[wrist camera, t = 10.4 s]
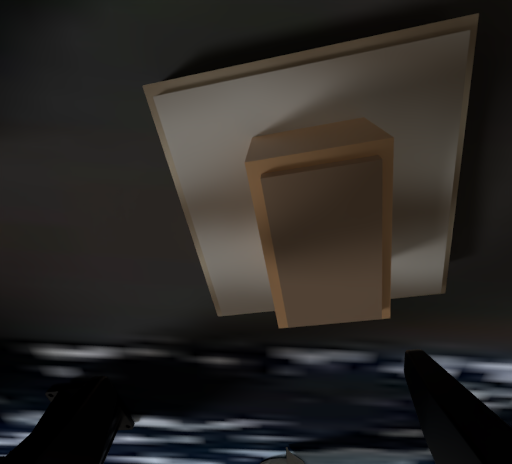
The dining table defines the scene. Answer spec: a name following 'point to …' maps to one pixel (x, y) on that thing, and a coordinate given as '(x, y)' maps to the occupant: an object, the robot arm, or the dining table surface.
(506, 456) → the robot arm
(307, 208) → the housing
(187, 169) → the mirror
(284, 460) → the paper towel roll
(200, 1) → the dining table surface
